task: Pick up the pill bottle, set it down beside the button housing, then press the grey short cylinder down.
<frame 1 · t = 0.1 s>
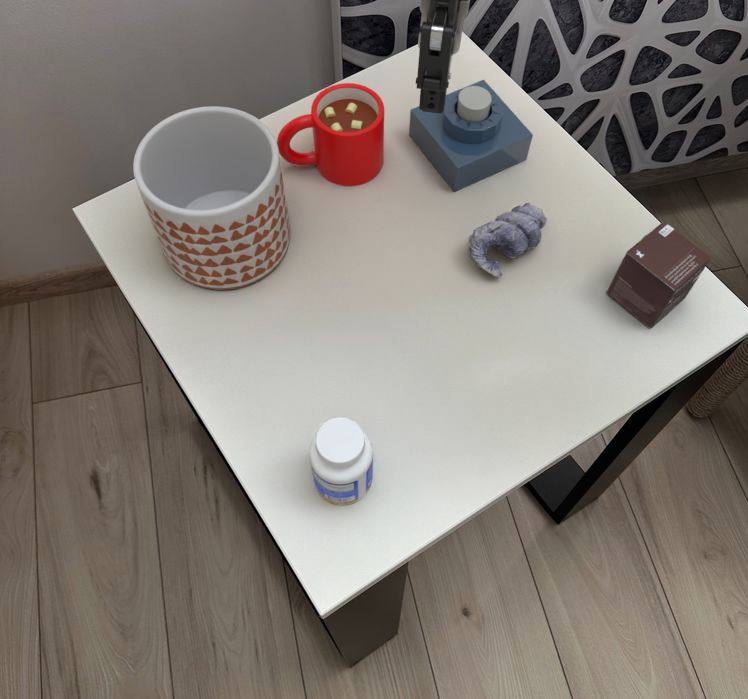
hand: (438, 76, 71), 18 cm above the table, tool pointing down, fingers open, 8 cm apart
planter: (227, 240, 84), on the table
button housing: (467, 147, 90), on the table
box: (644, 296, 81), on the table
mug: (332, 164, 89), on the table
grey short cylinder: (473, 104, 84), point 7 cm above the table, slide at 0.1 cm
seashell: (505, 249, 83), on the table
pill bottle: (343, 478, 71), on the table
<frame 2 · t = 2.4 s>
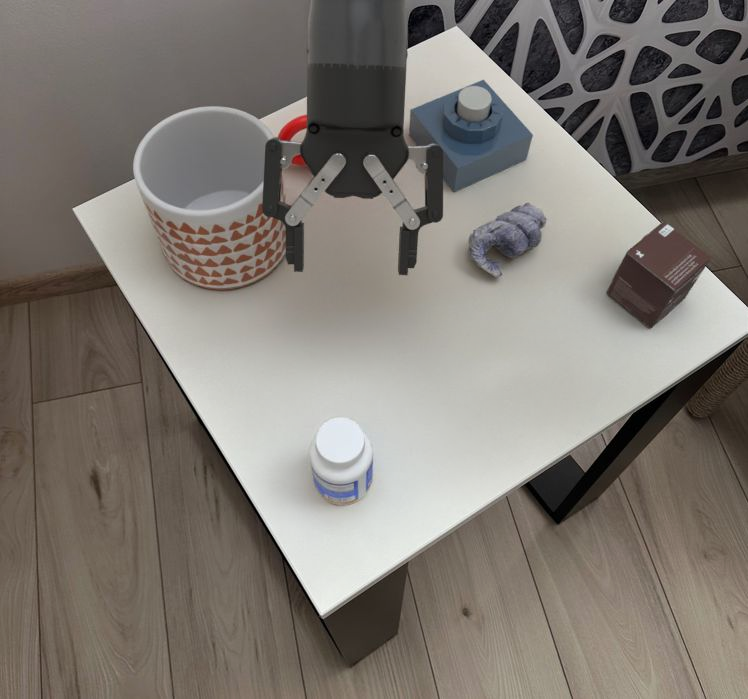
hand: (351, 271, 63), 15 cm above the table, tool tilted 45°, fingers open, 8 cm apart
nothing on the table moved.
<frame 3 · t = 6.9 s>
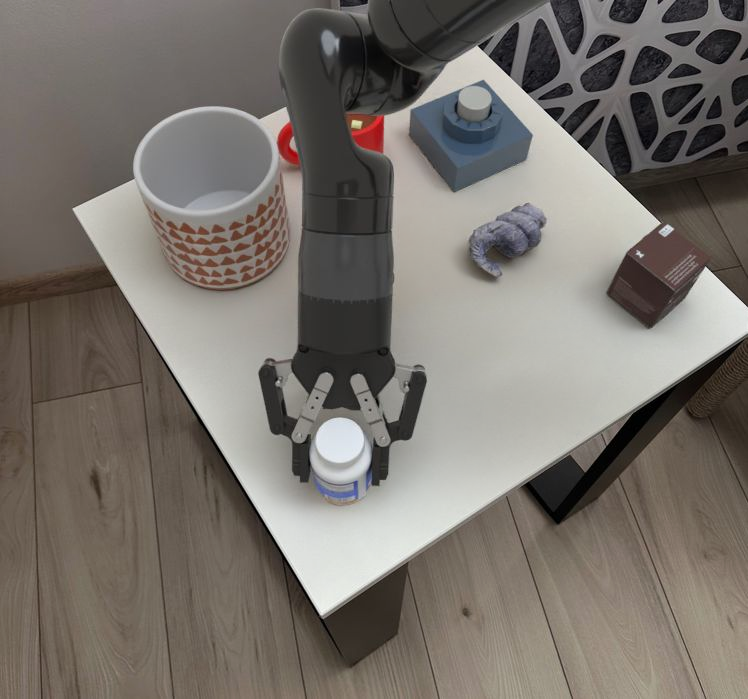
hand: (340, 479, 66), 5 cm above the table, tool tilted 45°, fingers closed on pill bottle, 5 cm apart
pill bottle: (343, 478, 71), on the table, touching gripper
everything else where it was.
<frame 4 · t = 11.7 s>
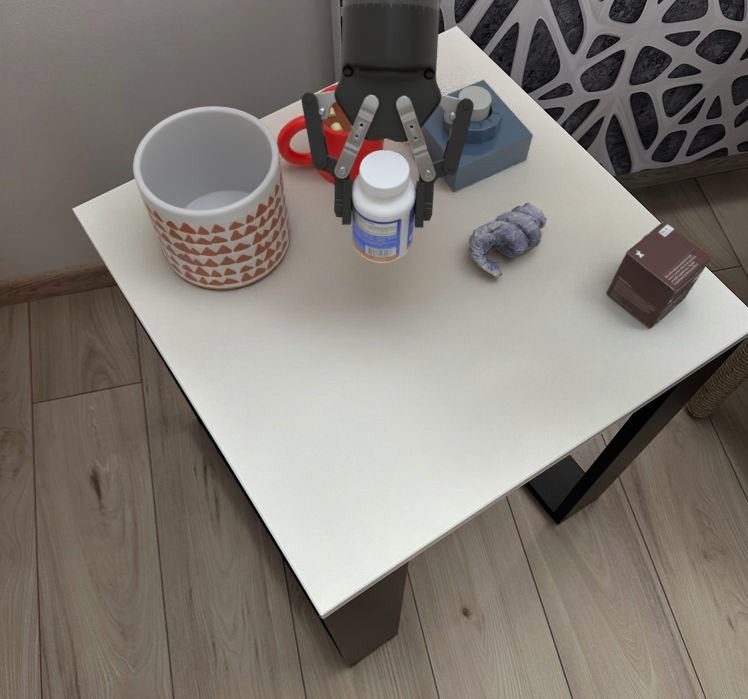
hand: (383, 224, 64), 16 cm above the table, tool tilted 45°, fingers closed on pill bottle, 5 cm apart
pill bottle: (382, 242, 69), point 11 cm above the table, touching gripper
everything else where it was.
when the fingers open (5 cm above the table, at t = 16.6 s): pill bottle stays where it is, on the table.
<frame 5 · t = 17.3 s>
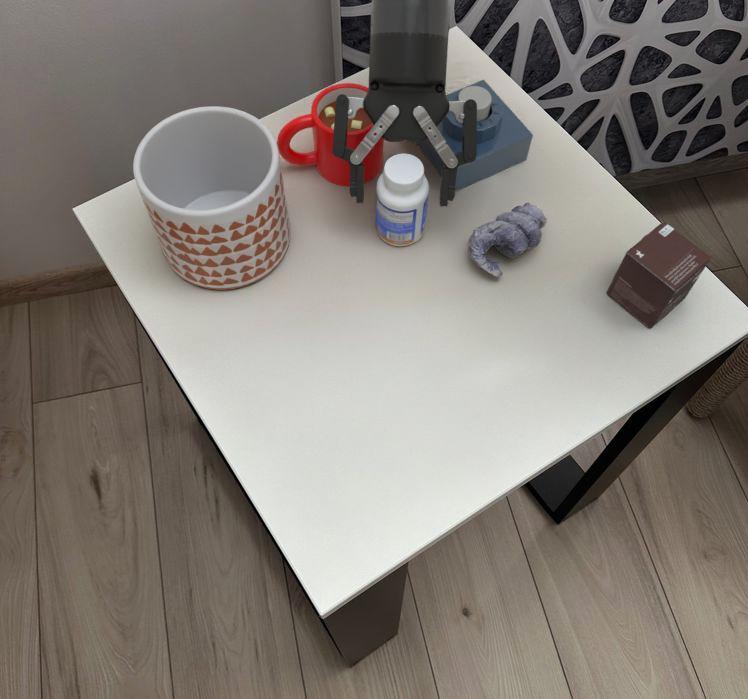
hand: (401, 204, 78), 6 cm above the table, tool tilted 45°, fingers open, 8 cm apart
pill bottle: (400, 229, 85), on the table
everything else where it was.
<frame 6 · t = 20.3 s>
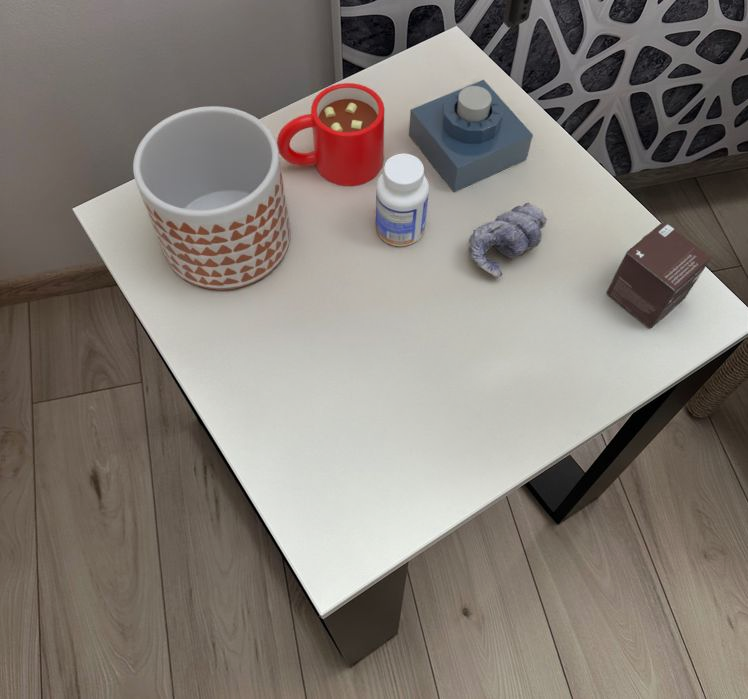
hand: (492, 0, 73), 20 cm above the table, tool pointing down, fingers open, 7 cm apart
nothing on the table moved.
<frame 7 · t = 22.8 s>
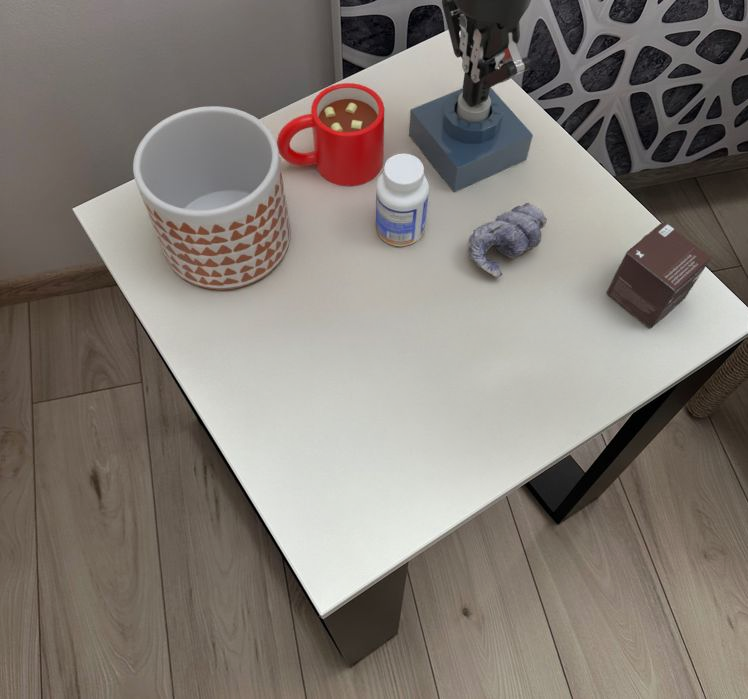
hand: (474, 100, 84), 7 cm above the table, tool pointing down, fingers closed
grey short cylinder: (473, 107, 85), point 6 cm above the table, slide at -0.4 cm, touching gripper
everything else where it was.
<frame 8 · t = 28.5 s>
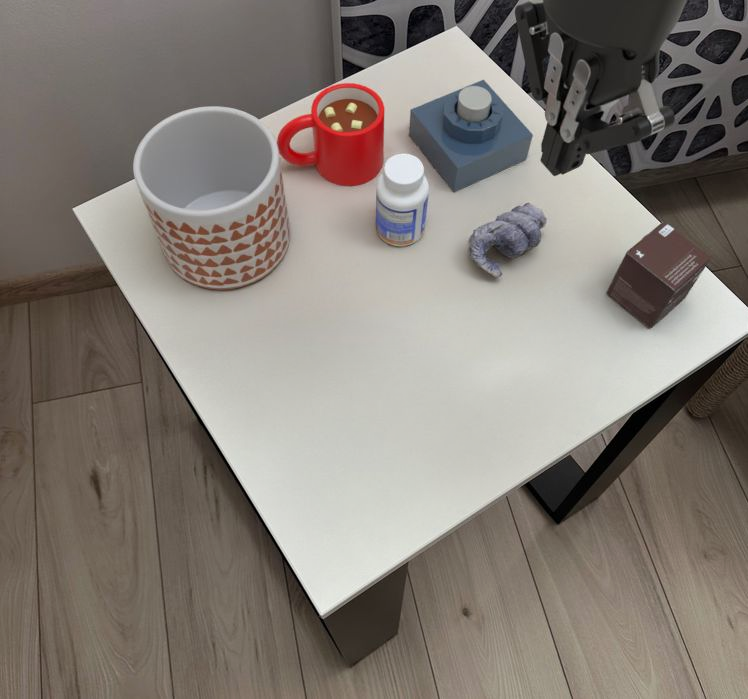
hand: (558, 165, 53), 27 cm above the table, tool pointing down, fingers closed
grey short cylinder: (473, 104, 84), point 7 cm above the table, slide at 0.1 cm
everything else where it was.
at the end: pill bottle 0.1 cm from the target spot on the table beside the button housing, on the table; grey short cylinder pushed in 1.2 cm at the most during the clip, back to where it started at the end; grey short cylinder slide at 0.1 cm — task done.
